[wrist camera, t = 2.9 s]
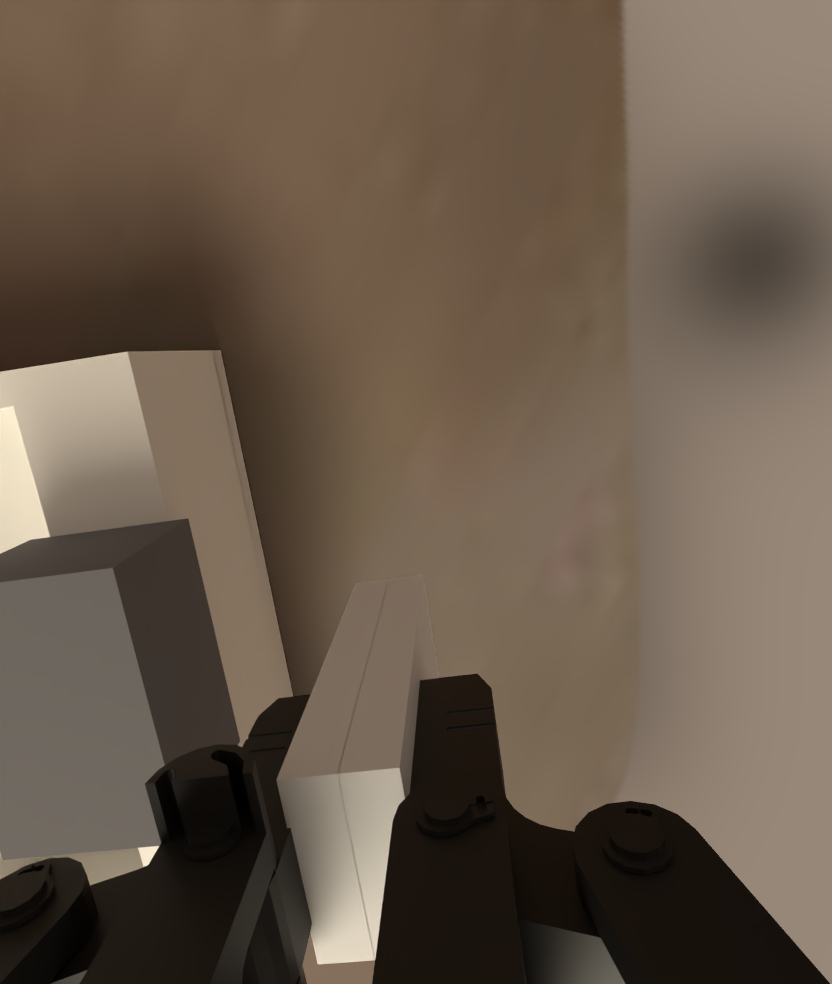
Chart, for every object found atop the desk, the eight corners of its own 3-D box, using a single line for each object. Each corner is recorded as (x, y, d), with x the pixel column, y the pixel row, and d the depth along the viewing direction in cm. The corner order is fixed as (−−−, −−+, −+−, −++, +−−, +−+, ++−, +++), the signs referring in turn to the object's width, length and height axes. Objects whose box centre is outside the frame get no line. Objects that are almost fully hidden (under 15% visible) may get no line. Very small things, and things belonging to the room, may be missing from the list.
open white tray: (-127, 404, 21) (-345, 426, 15) (220, 350, 20) (127, 351, 14) (24, 861, 25) (-106, 1017, 19) (322, 834, 24) (281, 990, 18)
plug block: (30, 539, 16) (-87, 594, 12) (188, 518, 15) (112, 567, 12) (93, 755, 17) (3, 860, 13) (240, 741, 16) (185, 843, 13)
